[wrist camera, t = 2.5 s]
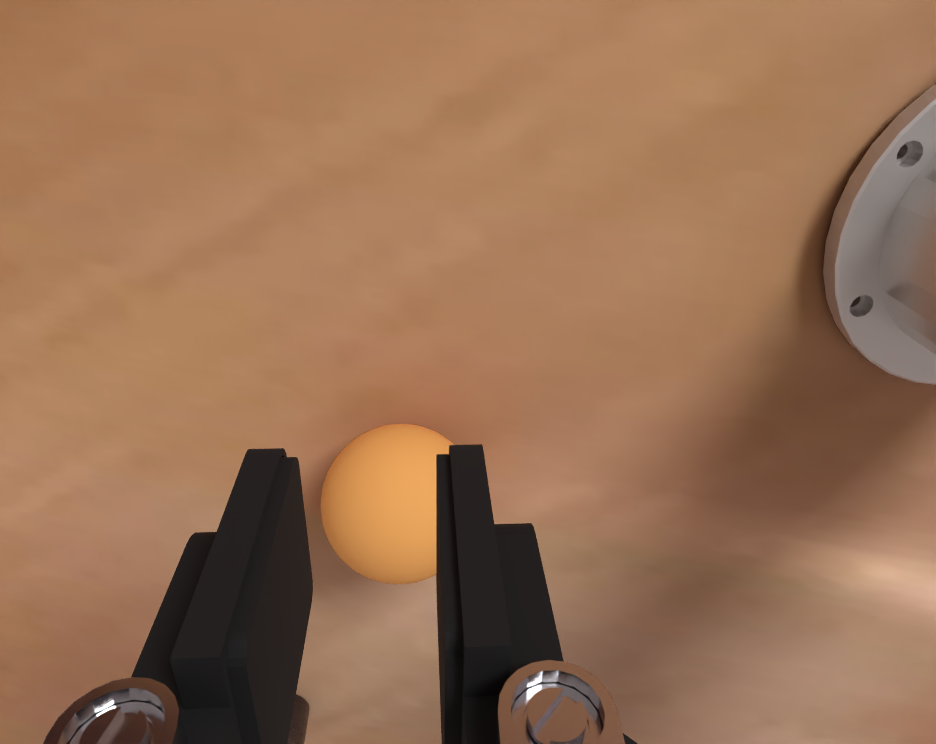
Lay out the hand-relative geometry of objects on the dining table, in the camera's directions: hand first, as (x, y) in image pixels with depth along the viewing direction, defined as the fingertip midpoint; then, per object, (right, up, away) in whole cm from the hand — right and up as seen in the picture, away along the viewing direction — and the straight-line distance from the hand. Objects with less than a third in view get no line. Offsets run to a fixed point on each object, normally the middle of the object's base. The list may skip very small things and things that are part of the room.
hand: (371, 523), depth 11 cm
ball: (-1, -2, +15) cm, 15 cm away
